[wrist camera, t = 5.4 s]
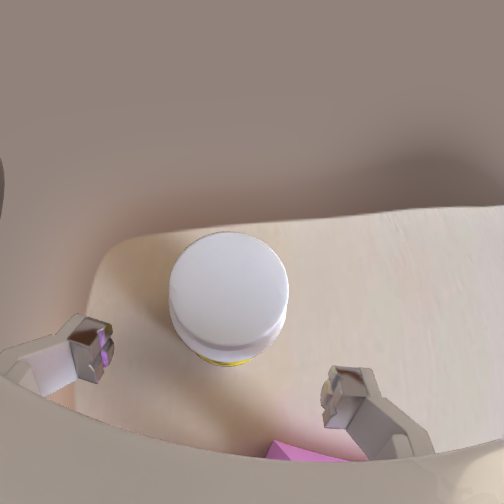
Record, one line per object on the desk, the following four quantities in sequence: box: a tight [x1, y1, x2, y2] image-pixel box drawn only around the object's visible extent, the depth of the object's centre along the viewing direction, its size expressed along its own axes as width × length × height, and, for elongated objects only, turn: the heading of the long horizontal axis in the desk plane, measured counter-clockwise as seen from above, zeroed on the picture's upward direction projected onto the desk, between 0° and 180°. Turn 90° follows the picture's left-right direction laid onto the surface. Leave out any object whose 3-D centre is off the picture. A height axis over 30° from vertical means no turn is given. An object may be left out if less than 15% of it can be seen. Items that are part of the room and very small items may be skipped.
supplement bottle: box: [169, 231, 289, 367], centre depth 14 cm, size 5×5×8 cm
